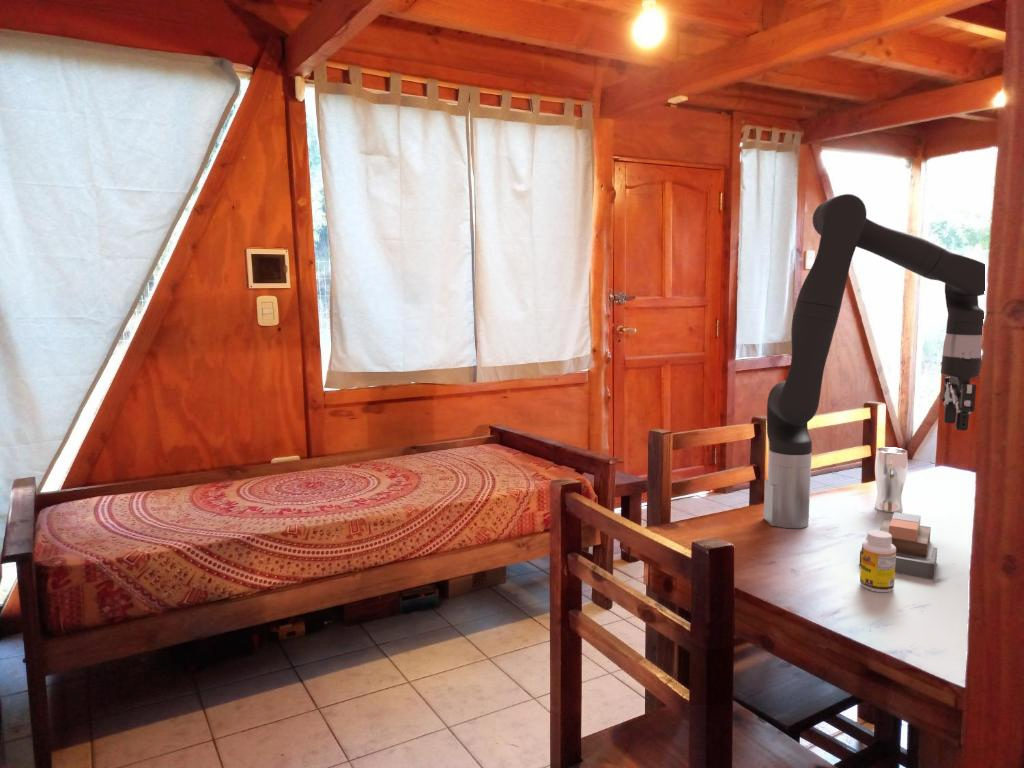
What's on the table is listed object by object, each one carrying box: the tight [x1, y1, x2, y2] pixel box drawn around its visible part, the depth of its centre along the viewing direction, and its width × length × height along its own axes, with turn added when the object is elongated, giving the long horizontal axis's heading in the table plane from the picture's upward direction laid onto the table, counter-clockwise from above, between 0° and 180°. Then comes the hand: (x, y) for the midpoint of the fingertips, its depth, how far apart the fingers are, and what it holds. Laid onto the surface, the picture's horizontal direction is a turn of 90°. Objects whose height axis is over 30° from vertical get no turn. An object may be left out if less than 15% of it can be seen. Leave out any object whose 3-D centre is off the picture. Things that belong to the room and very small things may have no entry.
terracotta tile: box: [889, 518, 919, 541], centre depth 146 cm, size 5×5×2 cm
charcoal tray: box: [859, 536, 938, 580], centre depth 139 cm, size 10×13×3 cm
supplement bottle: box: [859, 529, 896, 593], centre depth 128 cm, size 6×6×10 cm
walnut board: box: [879, 519, 931, 558], centre depth 149 cm, size 12×9×3 cm
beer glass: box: [874, 446, 908, 514], centre depth 172 cm, size 7×7×15 cm
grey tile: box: [891, 512, 921, 532], centre depth 151 cm, size 5×5×2 cm
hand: (955, 426), depth 157 cm, fingers open, 8 cm apart
